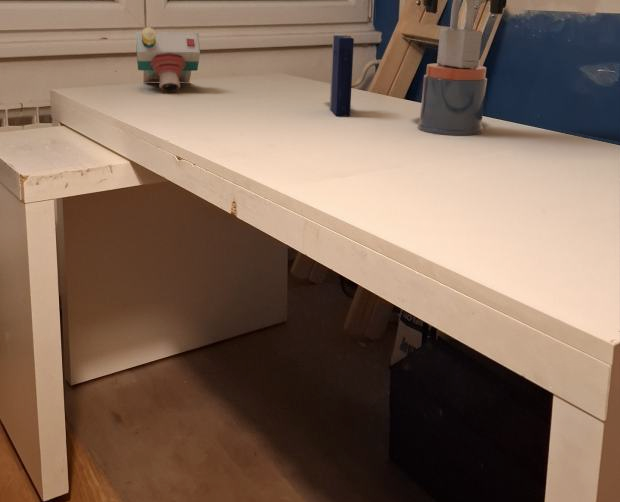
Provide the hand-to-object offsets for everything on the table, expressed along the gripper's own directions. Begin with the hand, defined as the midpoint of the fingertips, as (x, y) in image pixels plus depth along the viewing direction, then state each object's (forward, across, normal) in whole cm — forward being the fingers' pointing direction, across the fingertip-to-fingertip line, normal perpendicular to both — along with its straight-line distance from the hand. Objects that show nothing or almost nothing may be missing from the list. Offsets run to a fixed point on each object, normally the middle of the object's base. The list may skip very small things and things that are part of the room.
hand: (463, 13), depth 107 cm
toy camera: (+16, -42, +43) cm, 62 cm away
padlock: (+7, 0, 0) cm, 7 cm away
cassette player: (+16, -14, +15) cm, 26 cm away
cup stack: (+16, 0, 0) cm, 16 cm away
